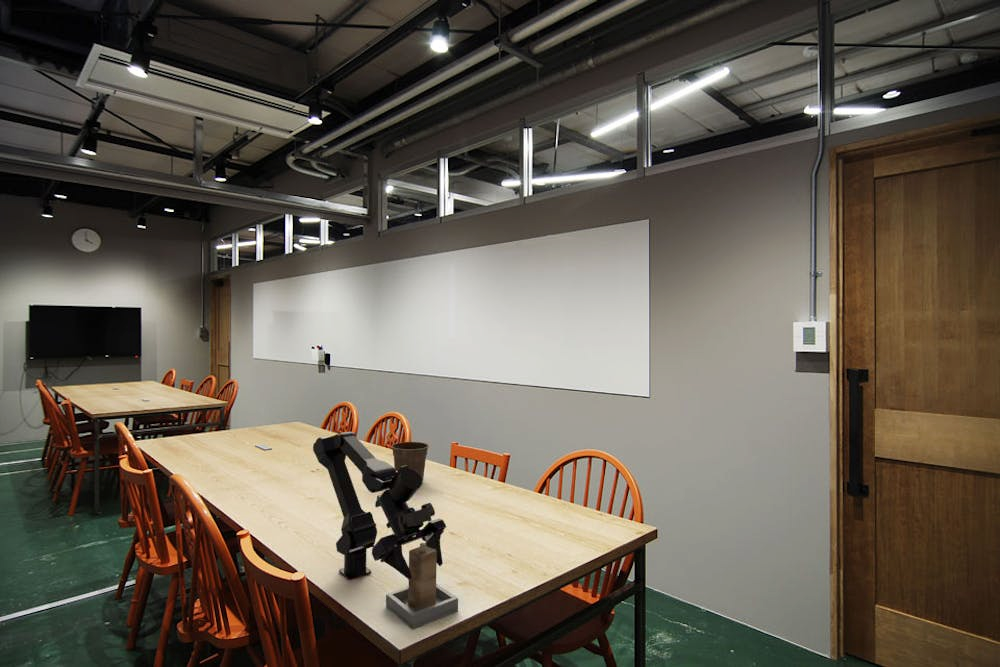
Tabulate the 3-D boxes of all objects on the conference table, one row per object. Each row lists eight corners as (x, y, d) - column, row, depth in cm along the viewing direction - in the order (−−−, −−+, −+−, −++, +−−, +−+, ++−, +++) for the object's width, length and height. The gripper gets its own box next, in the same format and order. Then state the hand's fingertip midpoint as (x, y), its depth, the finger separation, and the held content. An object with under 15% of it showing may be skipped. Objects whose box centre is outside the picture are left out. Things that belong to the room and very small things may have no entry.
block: (408, 605, 118) (409, 544, 118) (423, 597, 121) (424, 538, 121) (420, 612, 115) (422, 549, 115) (435, 604, 118) (436, 543, 118)
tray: (385, 607, 119) (386, 594, 119) (429, 591, 126) (429, 579, 126) (412, 629, 109) (412, 615, 110) (457, 611, 117) (458, 598, 117)
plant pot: (435, 482, 224) (436, 445, 224) (406, 489, 212) (407, 450, 212) (412, 475, 235) (413, 440, 235) (383, 482, 223) (383, 445, 223)
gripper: (380, 502, 114) (410, 567, 106) (442, 485, 128) (472, 541, 121) (359, 529, 119) (387, 592, 112) (421, 510, 133) (449, 565, 126)
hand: (426, 571), depth 117 cm, fingers open, 9 cm apart
